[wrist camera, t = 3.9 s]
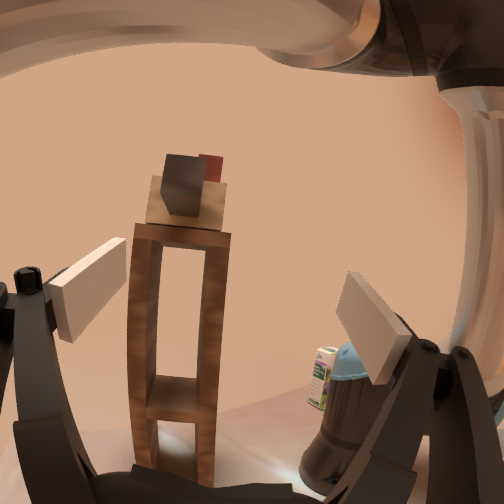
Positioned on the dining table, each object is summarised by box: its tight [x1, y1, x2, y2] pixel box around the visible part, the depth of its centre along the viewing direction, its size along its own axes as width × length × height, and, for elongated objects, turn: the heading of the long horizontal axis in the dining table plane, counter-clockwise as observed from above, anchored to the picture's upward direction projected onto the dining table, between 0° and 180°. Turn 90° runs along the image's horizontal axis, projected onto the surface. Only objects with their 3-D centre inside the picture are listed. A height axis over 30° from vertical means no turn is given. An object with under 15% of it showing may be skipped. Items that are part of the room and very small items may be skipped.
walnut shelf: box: [127, 223, 231, 488], centre depth 32 cm, size 10×10×35 cm
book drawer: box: [145, 154, 227, 232], centre depth 28 cm, size 8×19×10 cm, turn 12°
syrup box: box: [308, 347, 339, 410], centre depth 59 cm, size 6×6×14 cm
